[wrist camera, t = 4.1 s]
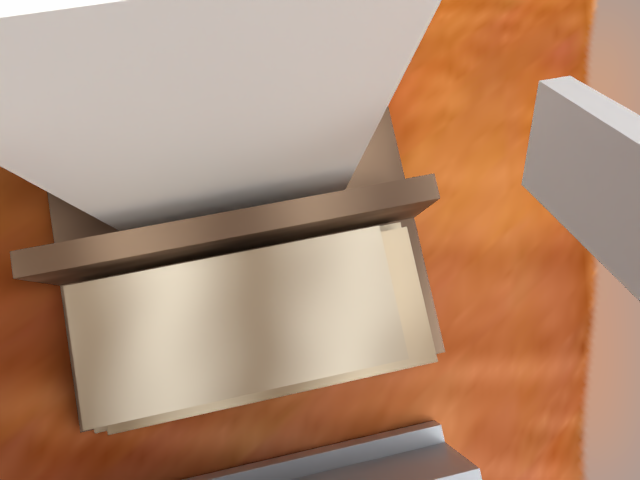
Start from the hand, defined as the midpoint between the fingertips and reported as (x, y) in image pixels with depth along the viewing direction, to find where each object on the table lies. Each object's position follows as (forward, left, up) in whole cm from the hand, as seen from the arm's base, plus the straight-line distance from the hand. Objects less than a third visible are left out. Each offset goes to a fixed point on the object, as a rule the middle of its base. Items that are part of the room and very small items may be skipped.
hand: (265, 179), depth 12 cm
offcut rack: (-1, +1, -13) cm, 13 cm away
